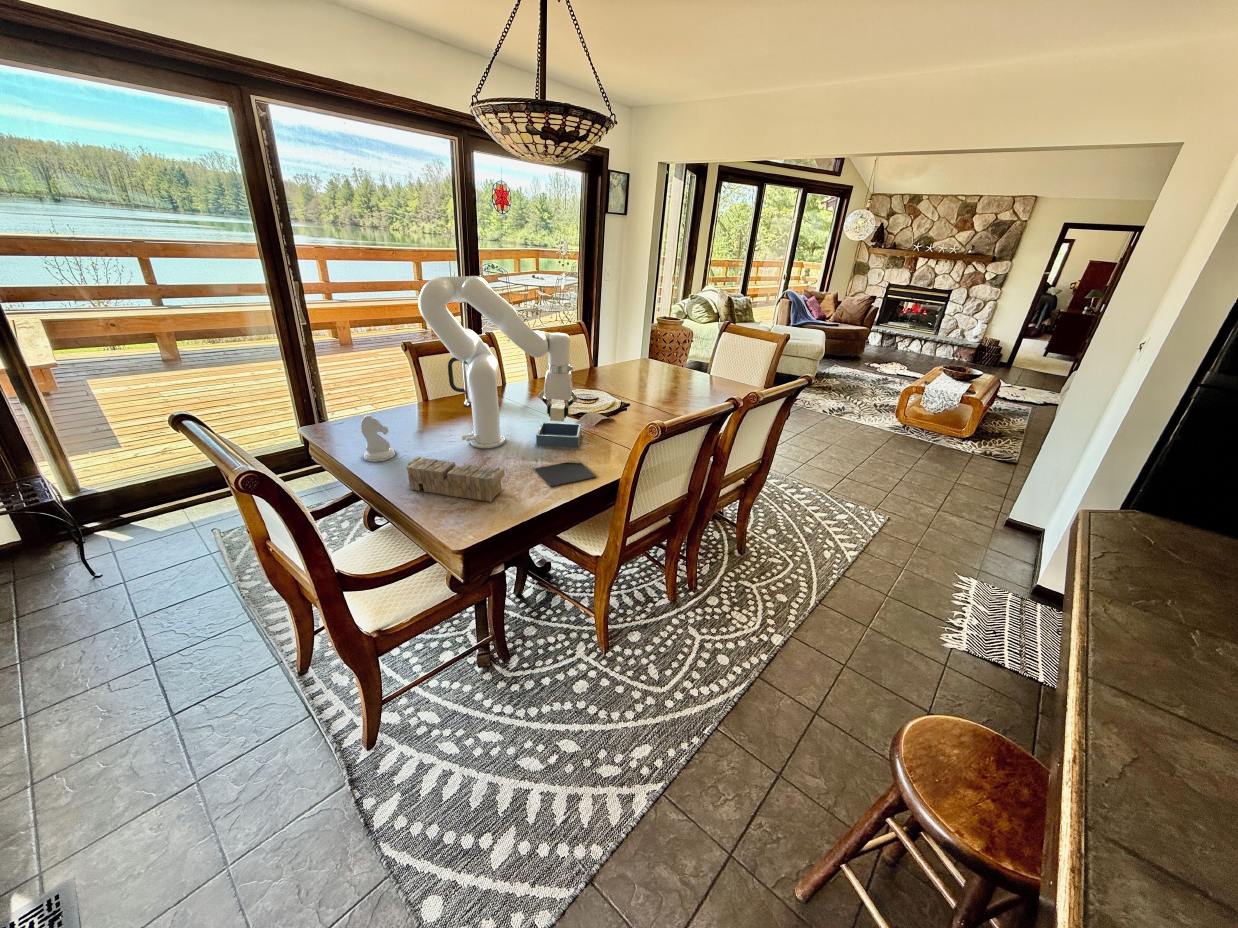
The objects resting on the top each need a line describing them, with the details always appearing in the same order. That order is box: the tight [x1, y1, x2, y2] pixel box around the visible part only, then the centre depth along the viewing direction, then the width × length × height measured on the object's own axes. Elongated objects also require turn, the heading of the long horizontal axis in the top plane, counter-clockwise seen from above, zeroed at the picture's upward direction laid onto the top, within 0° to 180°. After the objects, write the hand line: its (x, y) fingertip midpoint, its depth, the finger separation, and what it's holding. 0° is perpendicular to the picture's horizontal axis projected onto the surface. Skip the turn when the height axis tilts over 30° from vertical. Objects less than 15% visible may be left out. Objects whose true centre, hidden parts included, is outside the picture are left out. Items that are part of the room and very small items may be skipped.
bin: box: [535, 421, 582, 449], centre depth 184 cm, size 16×14×5 cm
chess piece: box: [360, 414, 396, 463], centre depth 163 cm, size 10×10×15 cm
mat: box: [535, 462, 597, 488], centre depth 161 cm, size 16×14×1 cm
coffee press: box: [447, 342, 493, 407], centre depth 215 cm, size 17×16×30 cm
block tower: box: [406, 456, 506, 503], centre depth 145 cm, size 8×8×29 cm
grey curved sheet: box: [577, 412, 614, 427], centre depth 206 cm, size 14×10×3 cm
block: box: [549, 403, 566, 423], centre depth 180 cm, size 5×5×5 cm
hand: (557, 415), depth 180 cm, fingers closed on block, 5 cm apart
